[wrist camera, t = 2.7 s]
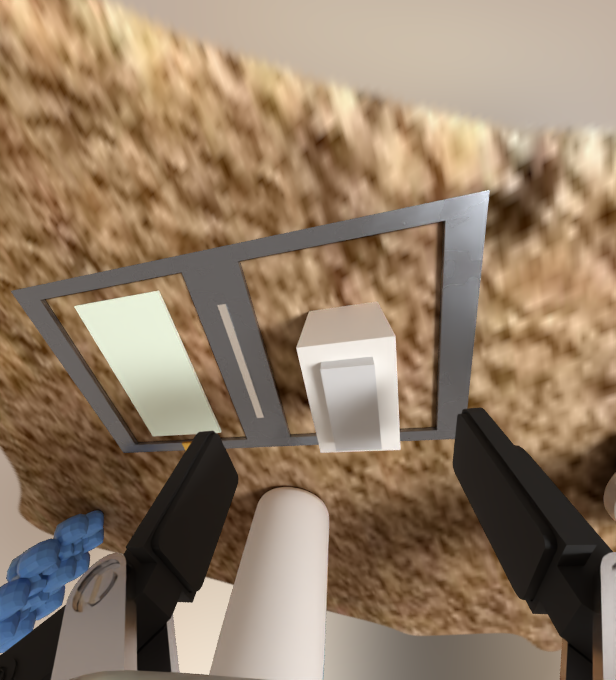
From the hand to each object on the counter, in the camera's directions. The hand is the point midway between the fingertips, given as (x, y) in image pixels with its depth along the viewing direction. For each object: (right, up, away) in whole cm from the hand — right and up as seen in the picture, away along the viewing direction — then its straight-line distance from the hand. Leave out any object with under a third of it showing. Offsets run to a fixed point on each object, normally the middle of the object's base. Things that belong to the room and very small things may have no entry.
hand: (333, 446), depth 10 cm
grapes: (-29, -18, +22) cm, 40 cm away
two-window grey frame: (-6, +2, +9) cm, 11 cm away
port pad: (-14, +1, +11) cm, 17 cm away
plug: (+2, +3, +8) cm, 9 cm away
